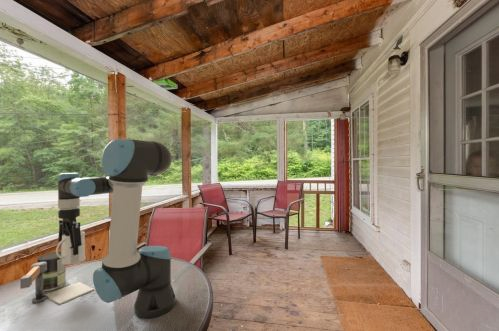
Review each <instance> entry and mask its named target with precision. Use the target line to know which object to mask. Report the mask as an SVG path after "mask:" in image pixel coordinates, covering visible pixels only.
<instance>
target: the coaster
mask: <svg viewBox="0 0 499 331" xmlns="http://www.w3.org/2000/svg"><path fill="white" fill-rule="evenodd" d="M93 291H95V288H93V287H91V286H89V285H86V284H84V283H83V282H82V281H81V282H80V281H79V282H76V283H73V284H71V285H68V286H65V287H62V288H60V289H56V290H54V291H52V292H48V293H46V294H45V296H46V299H48V300H51V301H52V302H54V303H55V304H57V305H58V306H60V305H62V304H63V305H64V304H65V303H68V302H70V301H72V300H74V299H77V298H79V297H81V296H83V295H86V294H89V293H91V292H93Z"/></svg>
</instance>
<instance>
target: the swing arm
mask: <svg viewBox="0 0 499 331" xmlns="http://www.w3.org/2000/svg"><path fill="white" fill-rule="evenodd" d="M46 270H47V262H39V263H38V262H35V263H33V264H31V265H30V270H29V271H28V272H27V274H25V275H22V277H21V278H20V279H19V281H20V285H19V286H20V290H21V289H27V288H30V287H31V286H32V285H33V284H32V283H33V282H35V278H36V277H37V276H38V275H39V274H40V273H42V272H45V271H46Z"/></svg>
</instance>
